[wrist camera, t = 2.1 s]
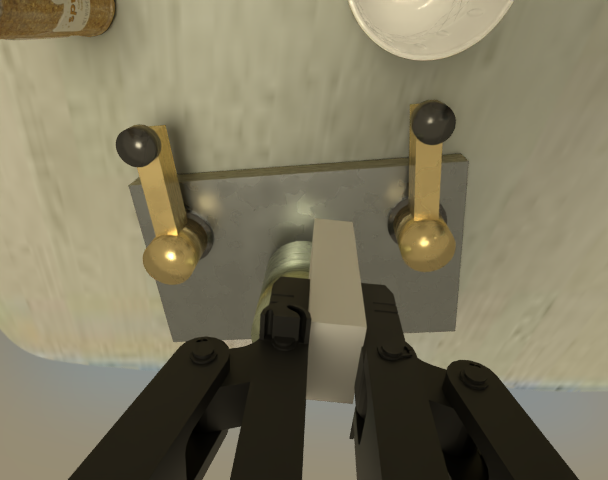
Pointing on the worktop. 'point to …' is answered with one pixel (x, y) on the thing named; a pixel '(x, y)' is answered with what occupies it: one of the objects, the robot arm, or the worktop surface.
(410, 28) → the white cup
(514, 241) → the worktop surface
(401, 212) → the lever
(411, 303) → the base
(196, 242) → the lever
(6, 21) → the sprinkles bottle
